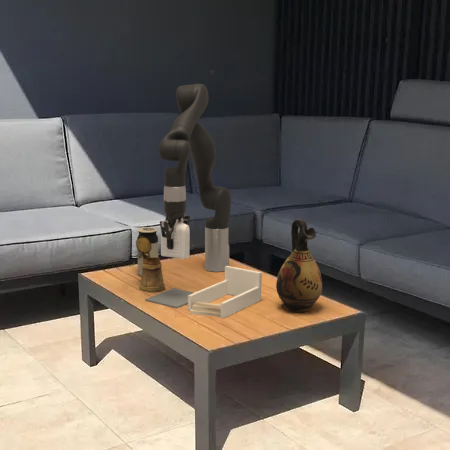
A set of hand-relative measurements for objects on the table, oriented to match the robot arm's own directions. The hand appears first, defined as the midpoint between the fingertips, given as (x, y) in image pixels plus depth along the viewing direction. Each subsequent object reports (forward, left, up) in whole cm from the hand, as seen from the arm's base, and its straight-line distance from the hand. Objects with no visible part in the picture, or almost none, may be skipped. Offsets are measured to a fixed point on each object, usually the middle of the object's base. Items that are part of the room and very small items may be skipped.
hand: (175, 247), depth 246 cm
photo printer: (0, 0, -4) cm, 4 cm away
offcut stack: (+6, +18, -19) cm, 27 cm away
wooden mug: (-5, -16, -19) cm, 25 cm away
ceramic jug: (-17, +39, -19) cm, 47 cm away
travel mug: (-17, -27, -19) cm, 37 cm away
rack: (-5, +18, -18) cm, 26 cm away
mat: (0, 0, -18) cm, 18 cm away
